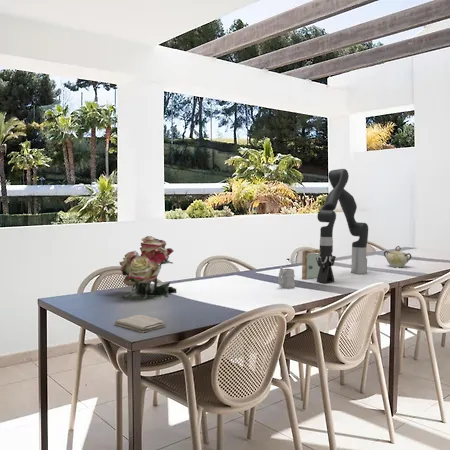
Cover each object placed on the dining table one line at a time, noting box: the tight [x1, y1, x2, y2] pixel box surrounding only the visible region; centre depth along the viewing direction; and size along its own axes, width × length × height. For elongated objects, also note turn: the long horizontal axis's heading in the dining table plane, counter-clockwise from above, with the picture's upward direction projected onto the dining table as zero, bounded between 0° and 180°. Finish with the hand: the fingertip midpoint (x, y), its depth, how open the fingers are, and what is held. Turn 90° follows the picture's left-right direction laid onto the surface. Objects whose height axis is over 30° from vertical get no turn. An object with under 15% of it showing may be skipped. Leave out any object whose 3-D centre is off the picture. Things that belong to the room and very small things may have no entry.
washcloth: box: [114, 314, 167, 334], centre depth 193 cm, size 12×18×3 cm, turn 51°
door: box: [306, 253, 320, 280], centre depth 305 cm, size 15×3×15 cm, turn 121°
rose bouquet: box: [119, 235, 177, 301], centre depth 249 cm, size 26×29×30 cm
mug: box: [277, 266, 296, 289], centre depth 274 cm, size 8×12×12 cm, turn 133°
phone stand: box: [316, 261, 335, 284], centre depth 291 cm, size 9×6×12 cm, turn 128°
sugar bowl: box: [383, 245, 412, 268], centre depth 356 cm, size 20×15×15 cm
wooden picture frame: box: [301, 248, 320, 280], centre depth 306 cm, size 20×2×18 cm, turn 121°
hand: (325, 273), depth 291 cm, fingers closed on phone stand, 3 cm apart
